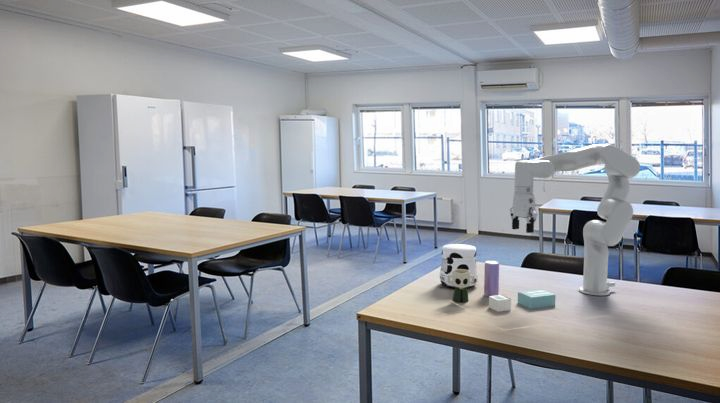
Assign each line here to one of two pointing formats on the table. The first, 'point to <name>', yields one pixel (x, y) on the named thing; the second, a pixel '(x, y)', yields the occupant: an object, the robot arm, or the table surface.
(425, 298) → the table surface
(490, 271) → the beverage can
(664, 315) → the table surface
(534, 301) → the striped teal box
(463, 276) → the character mug
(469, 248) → the milk container
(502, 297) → the white box
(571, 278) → the table surface
